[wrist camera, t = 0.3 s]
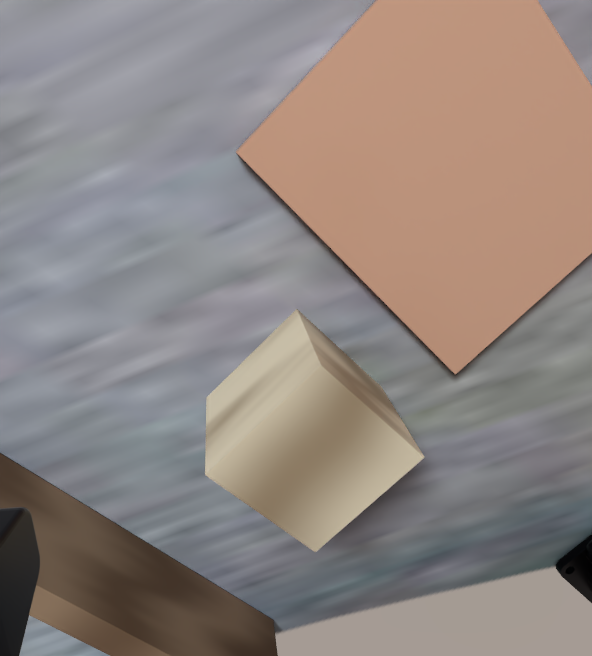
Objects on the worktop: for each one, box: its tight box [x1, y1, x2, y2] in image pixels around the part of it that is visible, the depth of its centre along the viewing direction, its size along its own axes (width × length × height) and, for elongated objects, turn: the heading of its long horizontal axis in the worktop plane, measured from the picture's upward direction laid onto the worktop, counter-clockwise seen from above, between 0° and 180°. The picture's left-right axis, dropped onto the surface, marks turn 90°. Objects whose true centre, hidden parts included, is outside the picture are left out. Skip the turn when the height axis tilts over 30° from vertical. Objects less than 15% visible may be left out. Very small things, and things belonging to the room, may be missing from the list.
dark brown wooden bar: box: [0, 453, 278, 656], centre depth 21 cm, size 16×4×4 cm, turn 45°
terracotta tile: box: [236, 0, 592, 374], centre depth 19 cm, size 12×10×1 cm
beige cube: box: [205, 309, 425, 552], centre depth 19 cm, size 5×5×5 cm
